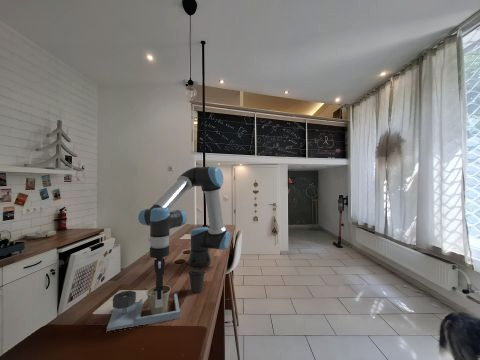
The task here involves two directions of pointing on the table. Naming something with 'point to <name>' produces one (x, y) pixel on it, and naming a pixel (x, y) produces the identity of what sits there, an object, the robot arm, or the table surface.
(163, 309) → the flower pot
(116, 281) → the table surface
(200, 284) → the coffee cup
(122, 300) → the faceted octagonal hub
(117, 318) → the tray
